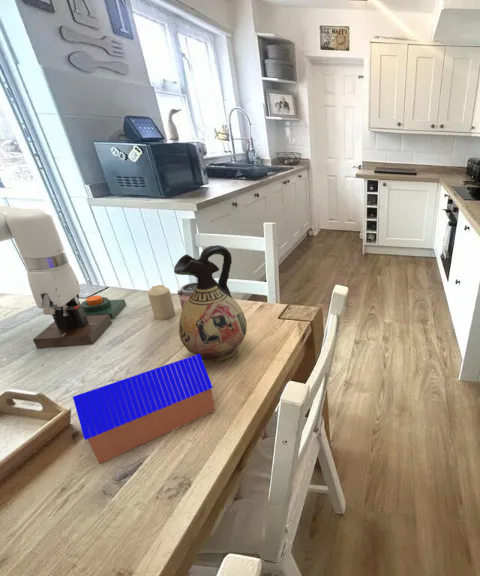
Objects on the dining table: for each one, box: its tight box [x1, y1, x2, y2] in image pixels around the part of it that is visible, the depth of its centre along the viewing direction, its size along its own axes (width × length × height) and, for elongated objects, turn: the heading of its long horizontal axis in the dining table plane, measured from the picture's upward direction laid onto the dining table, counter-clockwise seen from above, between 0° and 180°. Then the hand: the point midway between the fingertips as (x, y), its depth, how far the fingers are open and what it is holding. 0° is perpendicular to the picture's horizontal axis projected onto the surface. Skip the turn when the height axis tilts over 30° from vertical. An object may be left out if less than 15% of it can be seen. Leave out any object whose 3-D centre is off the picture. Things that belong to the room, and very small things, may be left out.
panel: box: [32, 314, 113, 350], centre depth 89 cm, size 12×11×3 cm
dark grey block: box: [52, 305, 88, 329], centre depth 87 cm, size 6×2×6 cm, turn 105°
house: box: [72, 354, 216, 464], centre depth 64 cm, size 12×20×12 cm, turn 132°
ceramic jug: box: [173, 244, 248, 363], centre depth 81 cm, size 17×15×30 cm
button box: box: [80, 296, 127, 321], centre depth 99 cm, size 11×9×4 cm
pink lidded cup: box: [176, 281, 198, 312], centre depth 97 cm, size 9×8×12 cm
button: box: [85, 294, 103, 305], centre depth 98 cm, size 4×4×2 cm
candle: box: [147, 284, 176, 321], centre depth 99 cm, size 6×6×10 cm
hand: (72, 323), depth 88 cm, fingers open, 3 cm apart
